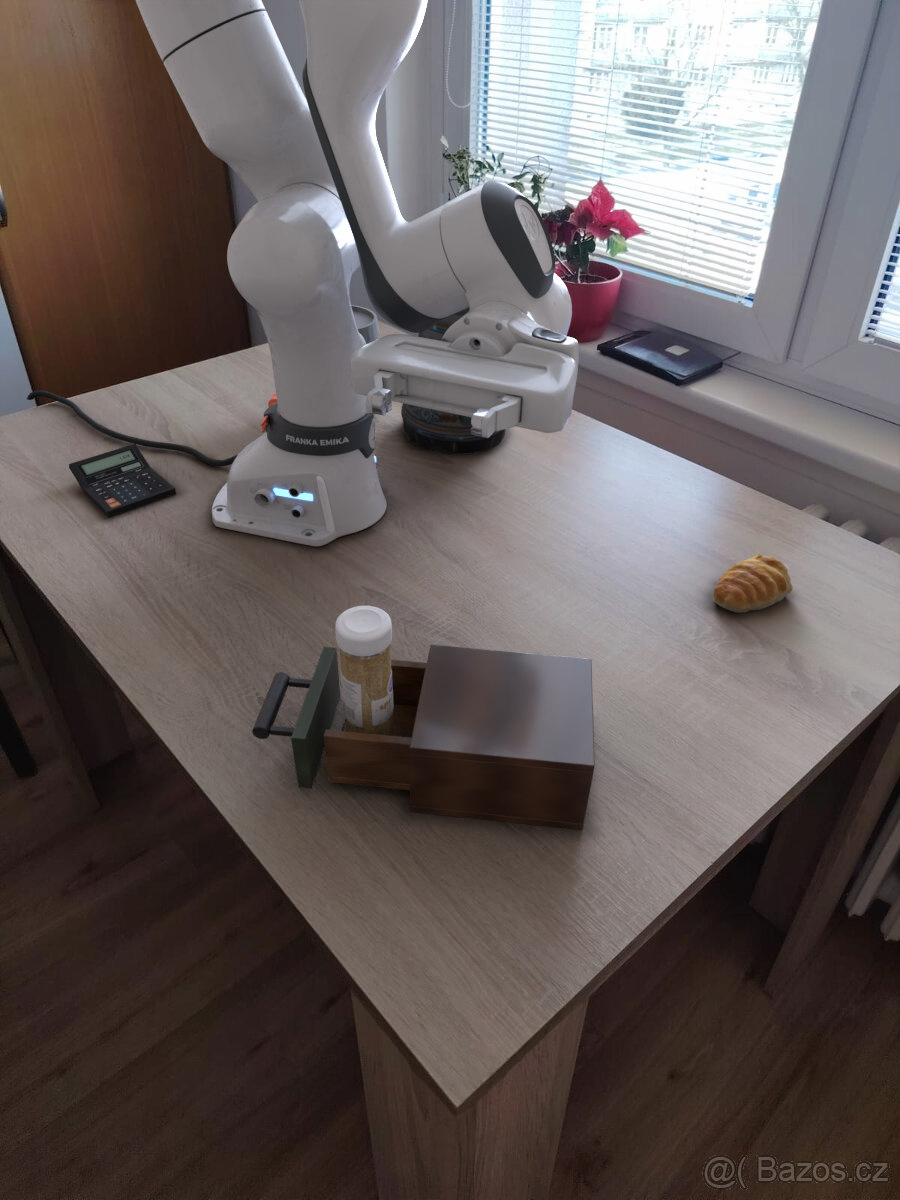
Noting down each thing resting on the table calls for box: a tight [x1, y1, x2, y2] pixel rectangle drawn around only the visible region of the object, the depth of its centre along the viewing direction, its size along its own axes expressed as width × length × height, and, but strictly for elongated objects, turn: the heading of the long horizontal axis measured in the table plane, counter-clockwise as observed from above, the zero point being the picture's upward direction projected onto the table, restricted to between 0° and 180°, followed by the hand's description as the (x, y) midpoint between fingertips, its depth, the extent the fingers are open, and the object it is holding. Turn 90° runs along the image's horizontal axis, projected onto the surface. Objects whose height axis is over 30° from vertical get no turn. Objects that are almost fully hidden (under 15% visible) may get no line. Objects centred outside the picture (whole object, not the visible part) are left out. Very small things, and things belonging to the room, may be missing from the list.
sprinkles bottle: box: [334, 605, 395, 736], centre depth 70 cm, size 5×5×14 cm
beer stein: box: [400, 307, 507, 455], centre depth 120 cm, size 16×19×25 cm
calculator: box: [68, 443, 177, 518], centre depth 111 cm, size 9×12×3 cm
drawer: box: [251, 646, 427, 791], centre depth 73 cm, size 18×11×6 cm, turn 83°
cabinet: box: [409, 644, 596, 831], centre depth 72 cm, size 15×13×8 cm
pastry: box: [712, 553, 794, 614], centre depth 94 cm, size 9×7×4 cm
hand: (425, 416), depth 67 cm, fingers open, 8 cm apart
